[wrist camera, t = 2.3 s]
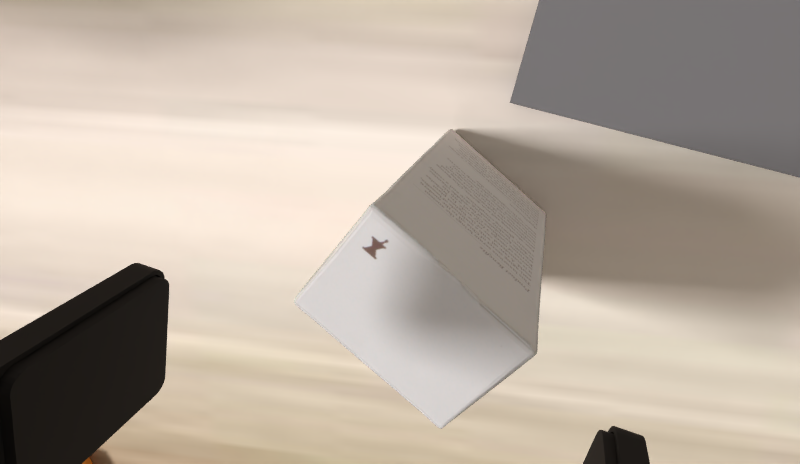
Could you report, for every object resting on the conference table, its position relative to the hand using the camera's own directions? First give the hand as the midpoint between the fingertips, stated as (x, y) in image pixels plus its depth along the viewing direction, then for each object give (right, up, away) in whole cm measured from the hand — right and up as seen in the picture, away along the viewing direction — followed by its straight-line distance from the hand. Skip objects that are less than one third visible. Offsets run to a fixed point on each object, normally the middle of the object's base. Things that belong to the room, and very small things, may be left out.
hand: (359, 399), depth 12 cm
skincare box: (+4, +5, +15) cm, 16 cm away
